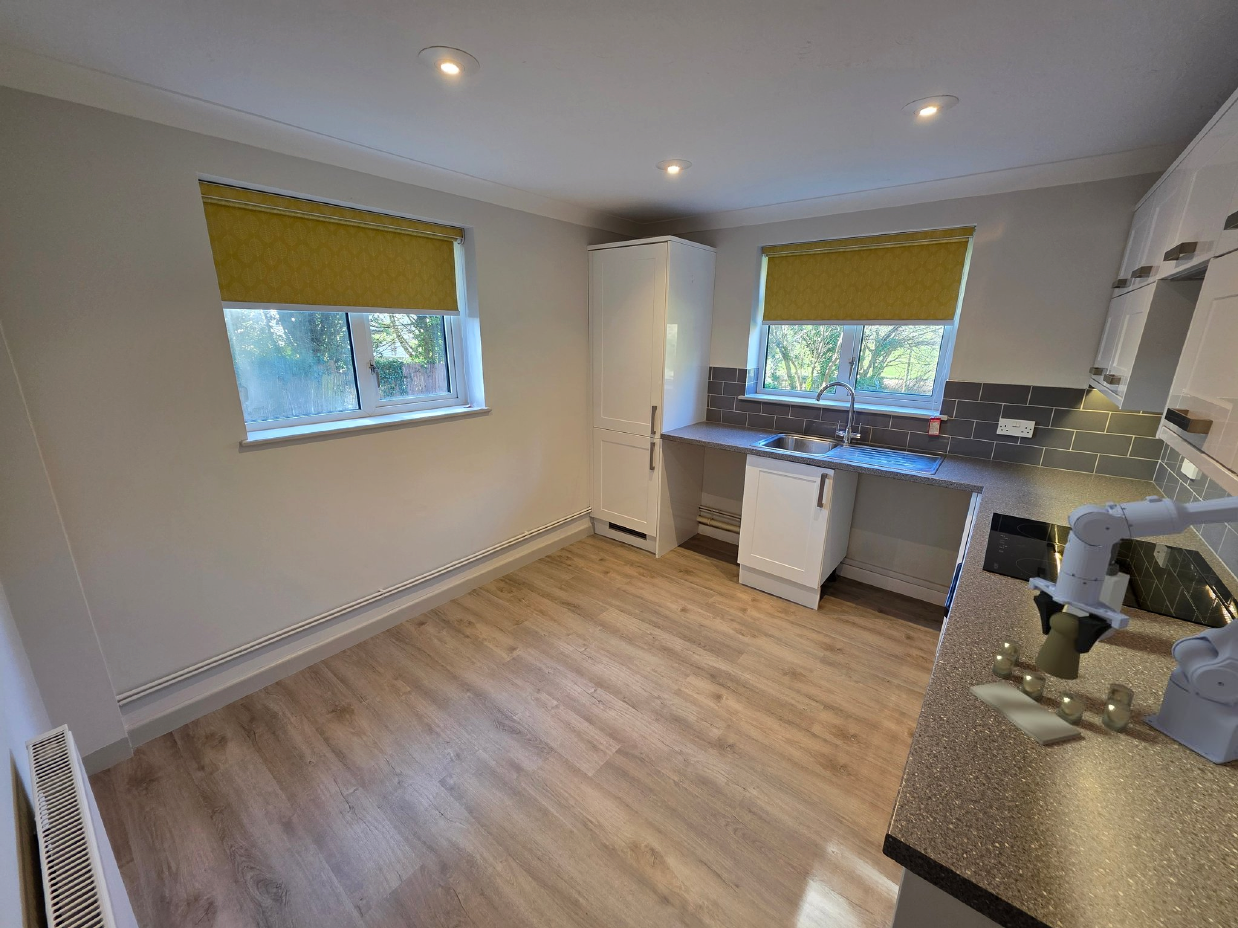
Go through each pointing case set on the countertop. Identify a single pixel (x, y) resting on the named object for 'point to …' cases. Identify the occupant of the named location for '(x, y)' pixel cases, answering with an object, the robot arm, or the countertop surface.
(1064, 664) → the cork
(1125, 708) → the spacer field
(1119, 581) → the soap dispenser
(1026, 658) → the countertop surface
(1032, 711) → the pale grey metal board
